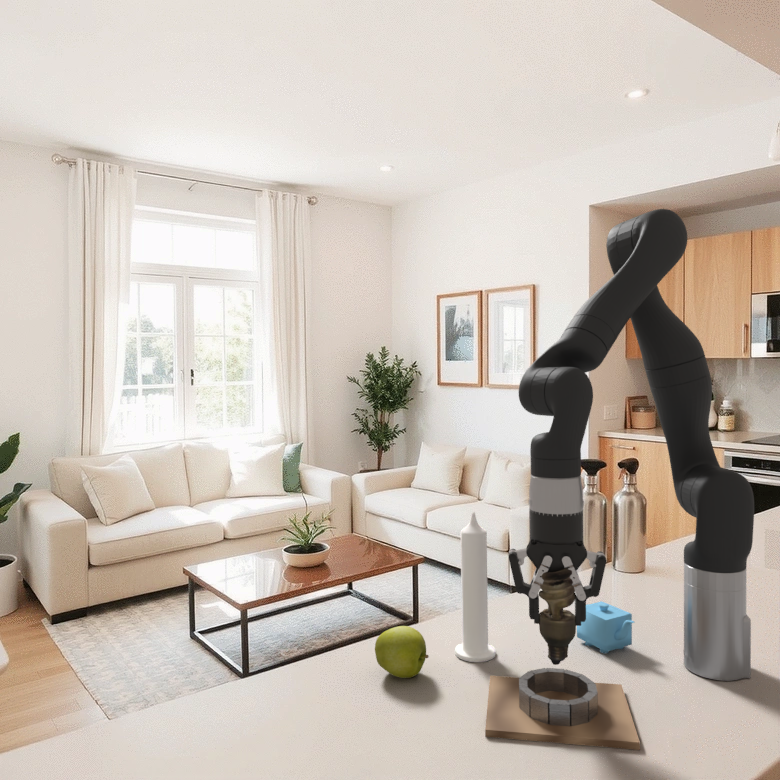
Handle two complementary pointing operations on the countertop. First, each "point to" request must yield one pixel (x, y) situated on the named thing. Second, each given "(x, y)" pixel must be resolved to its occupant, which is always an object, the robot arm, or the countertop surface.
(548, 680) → the ring seat
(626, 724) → the board
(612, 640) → the teapot
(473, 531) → the candle
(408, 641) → the apple
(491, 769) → the countertop surface
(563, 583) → the light bulb
